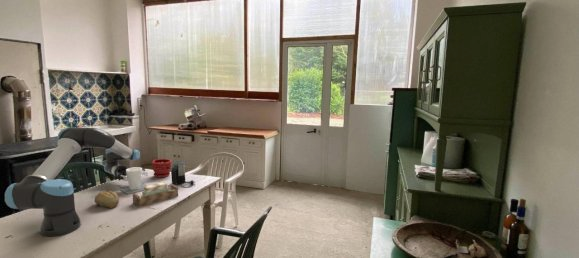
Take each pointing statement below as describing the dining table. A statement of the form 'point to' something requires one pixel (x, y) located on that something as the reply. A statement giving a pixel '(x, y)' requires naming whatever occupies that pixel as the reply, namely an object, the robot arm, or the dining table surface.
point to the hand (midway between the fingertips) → (137, 176)
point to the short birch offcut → (155, 187)
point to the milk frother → (179, 173)
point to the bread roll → (107, 199)
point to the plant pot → (161, 167)
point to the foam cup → (134, 177)
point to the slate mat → (129, 191)
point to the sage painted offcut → (155, 192)
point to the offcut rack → (155, 197)
